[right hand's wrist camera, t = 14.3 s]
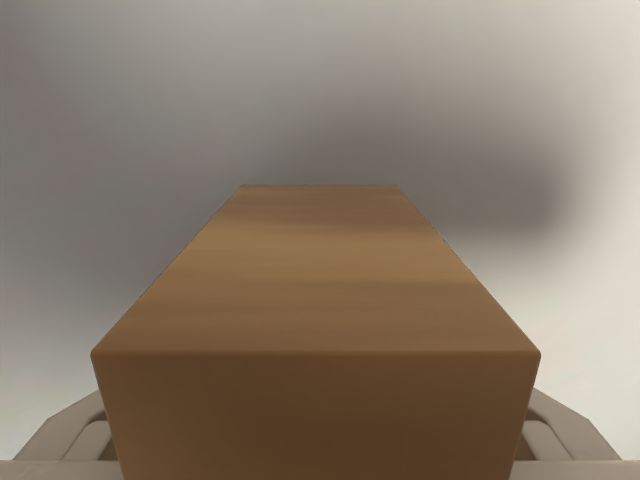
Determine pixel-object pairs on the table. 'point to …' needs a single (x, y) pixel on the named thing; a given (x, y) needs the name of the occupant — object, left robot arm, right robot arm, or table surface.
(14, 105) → the table surface
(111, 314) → the table surface
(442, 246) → the bar
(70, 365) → the table surface
